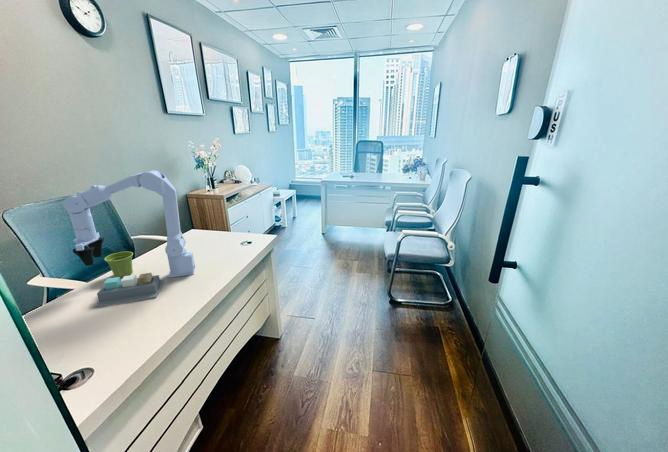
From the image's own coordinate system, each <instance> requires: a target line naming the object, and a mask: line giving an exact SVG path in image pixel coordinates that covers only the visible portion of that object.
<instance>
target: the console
mask: <svg viewBox="0 0 668 452" xmlns="http://www.w3.org/2000/svg"><path fill="white" fill-rule="evenodd" d="M136 278H137V284H136V286H130V287H122V283H121V286H120V287H119V288H116V289H109V290H105V286H104V284H103V286H102V287H101V288H100V289H99V290H98V291H97V293H96V295H97V298H98V301H97V302H96V304H95V305H94V308H96V309H97V308H102V307H109V306H114V305H115V306H116V305H120V304H126V303H127V304H128V303H133V302H139V301H144V300H150V299H156V298H157V297H158V295H159V292H160V291H161V288H162V285H163V284H164V279H161V278H160V275H159V274H157V275H152V278H153V281H152V283H150V284H143V285H139V283H138V277H136Z"/></svg>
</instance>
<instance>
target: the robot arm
mask: <svg viewBox="0 0 668 452" xmlns="http://www.w3.org/2000/svg"><path fill="white" fill-rule="evenodd" d="M131 187H133V188H134V187H136V188H141V187H142V188H144V189H146V190H149V191H152V192H155V193H157V194H158V195H160V196H161V197H162V202H163V211H164V216H165V217H164V219H165V228H166V233H167V235H166V245H165V249H164V251H165V254H166V255H167V261H168V266H169V270H170V271H169V274H168V276H167V277H168V278H170V279H171V278H176V277H177V278H178V277H185V276H191V275H194V274H195V270H196V264H195V258H194V253H193V251H187V250H186V248H185V246H186V243H187V242H186V239H185V238H184V236H183V233H182V231H181V223H180V214H179V206H178V204H179V202H178V196H177V189H176V188H175V187H174V185H173V184H172V183H171V182H170V181H169V179H168V178H167V176H166V175H165V174H164V173H162V172H160V171H159V170H156V169H150V170H149V169H148V171H143V172H140V173H139V172H138V173H135V174H132V175H130V176H128V177H125V178H123V179H121V180H118V181H116V182H113V183H111V184H109V185H107V186H105V185H101V184H98V185H96V184H94V185H91V186H90V188H89V189H86V190H83V191H80V190H79V191H78V192H76V194H74V195H72V196H68V197H67V198H65V199H64V200H63V202H62V207H63V209H64V210H65V211H67V212H68V214H69V218H70V222H71V224H72V228H73V231H74V235H75V238H74V239H73V240H72V241H73V243H75V245H74V247H75V248H73V249H72V253H74V254H75V255H76V256H77V257H78V258H79V259H80V260H81V261H82V262H83V264H84V266H93V265H94V258H101V257H102V254H103V250H102V249H103V244H104V241H105V238H104V237H101V236H100V232H99V231H98V232H97V231H96V226H95V223H94V219H93V214H92V213H91V207H94V206H97V205H99V204H103V203H104V202H106V201H109V200H111V198H112V195H113V194H116V193H118V192H120V191H123V190H126V189H128V188H131Z"/></svg>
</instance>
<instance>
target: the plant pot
mask: <svg viewBox="0 0 668 452" xmlns="http://www.w3.org/2000/svg"><path fill="white" fill-rule="evenodd" d="M133 255H134V252H132V251H119V252H115V253H111V254H108V255H107V256H105V257H104V262H106V263H107V264H108V265H109V268H110V269H111V272H112V273H113V276H114V278H116V277H120V279H121V278H123V277H124V276H130V275H133Z"/></svg>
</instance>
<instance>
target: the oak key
mask: <svg viewBox="0 0 668 452" xmlns="http://www.w3.org/2000/svg"><path fill="white" fill-rule="evenodd" d="M152 276H153V273H152V272H147V273H140V274H139V276H138V277H137V278H138V283H139V285H143V284H150V283H152V281H153V278H152Z"/></svg>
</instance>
